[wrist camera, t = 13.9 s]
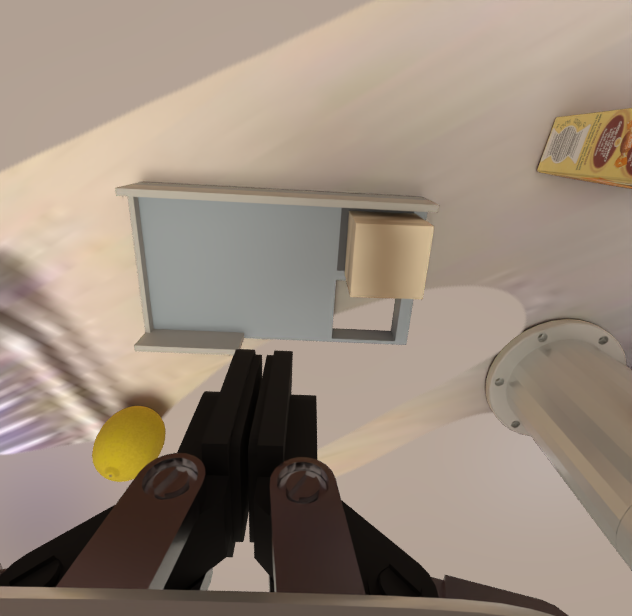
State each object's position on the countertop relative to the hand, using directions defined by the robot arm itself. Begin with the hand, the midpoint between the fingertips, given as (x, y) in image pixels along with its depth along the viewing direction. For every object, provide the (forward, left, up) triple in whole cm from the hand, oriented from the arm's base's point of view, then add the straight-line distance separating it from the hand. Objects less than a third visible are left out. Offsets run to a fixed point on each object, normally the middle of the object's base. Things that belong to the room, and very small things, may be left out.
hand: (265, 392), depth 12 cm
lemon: (+14, +19, -22) cm, 32 cm away
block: (-7, 0, -20) cm, 21 cm away
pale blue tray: (+1, +3, -22) cm, 22 cm away
